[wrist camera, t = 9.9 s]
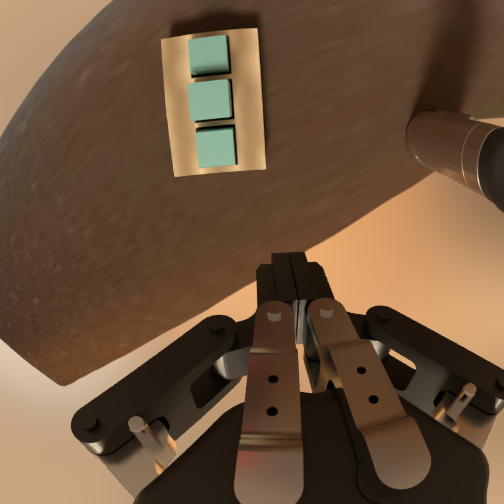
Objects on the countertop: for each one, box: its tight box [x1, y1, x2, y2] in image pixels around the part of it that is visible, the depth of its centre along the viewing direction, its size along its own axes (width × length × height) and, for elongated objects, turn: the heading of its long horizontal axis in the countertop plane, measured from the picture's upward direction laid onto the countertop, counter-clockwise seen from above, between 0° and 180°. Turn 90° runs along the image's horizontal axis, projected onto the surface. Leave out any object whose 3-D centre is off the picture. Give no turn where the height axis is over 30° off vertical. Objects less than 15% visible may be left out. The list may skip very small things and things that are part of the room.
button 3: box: [195, 126, 236, 168], centre depth 36 cm, size 4×4×6 cm
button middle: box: [187, 79, 233, 121], centre depth 31 cm, size 4×4×6 cm
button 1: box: [188, 35, 230, 77], centre depth 30 cm, size 4×4×6 cm
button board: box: [161, 28, 266, 177], centre depth 34 cm, size 12×19×4 cm, turn 3°
